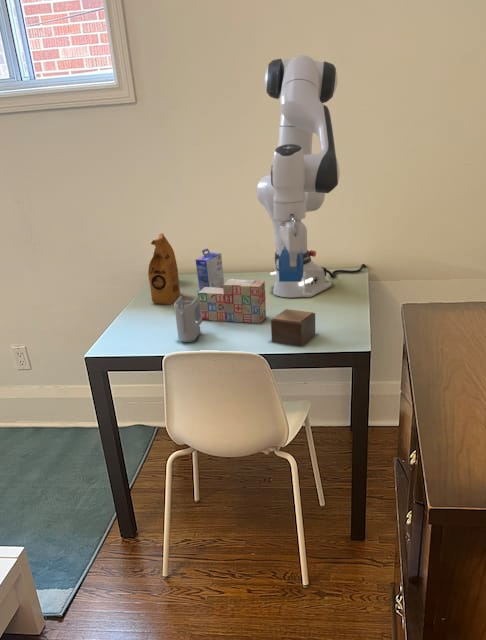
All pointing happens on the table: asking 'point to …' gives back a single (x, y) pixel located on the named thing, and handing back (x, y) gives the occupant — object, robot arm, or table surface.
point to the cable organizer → (188, 319)
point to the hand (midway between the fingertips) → (290, 262)
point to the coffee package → (163, 273)
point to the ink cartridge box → (210, 270)
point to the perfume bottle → (286, 270)
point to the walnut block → (293, 327)
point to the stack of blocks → (234, 302)
